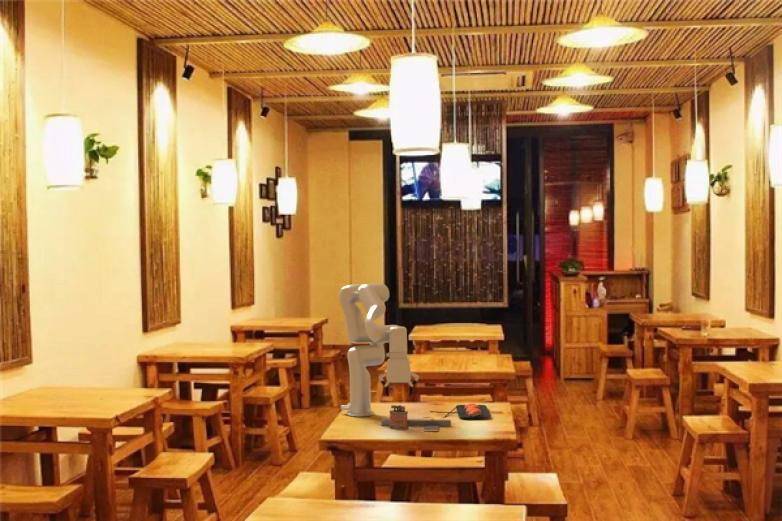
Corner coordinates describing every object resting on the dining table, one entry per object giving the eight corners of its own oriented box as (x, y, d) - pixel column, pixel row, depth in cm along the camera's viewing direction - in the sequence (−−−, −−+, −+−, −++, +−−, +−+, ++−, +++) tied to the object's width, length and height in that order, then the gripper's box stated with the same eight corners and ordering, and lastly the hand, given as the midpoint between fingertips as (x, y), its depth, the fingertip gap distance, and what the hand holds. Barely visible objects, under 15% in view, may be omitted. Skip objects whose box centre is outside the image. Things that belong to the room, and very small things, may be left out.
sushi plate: (491, 421, 381) (491, 412, 381) (424, 421, 382) (424, 413, 382) (485, 408, 410) (485, 400, 410) (423, 408, 411) (423, 400, 411)
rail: (381, 425, 371) (381, 418, 371) (381, 424, 374) (381, 417, 374) (450, 426, 369) (450, 419, 369) (450, 425, 371) (450, 418, 371)
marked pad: (423, 431, 359) (423, 430, 359) (425, 426, 370) (425, 424, 370) (438, 431, 358) (438, 430, 358) (439, 426, 369) (439, 425, 369)
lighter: (408, 428, 366) (408, 405, 366) (406, 430, 363) (406, 406, 362) (391, 427, 368) (390, 404, 368) (388, 428, 365) (388, 405, 365)
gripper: (377, 356, 362) (378, 397, 362) (418, 356, 360) (419, 397, 360) (379, 354, 369) (379, 394, 369) (419, 354, 368) (420, 394, 368)
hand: (399, 395), depth 365 cm, fingers open, 9 cm apart
